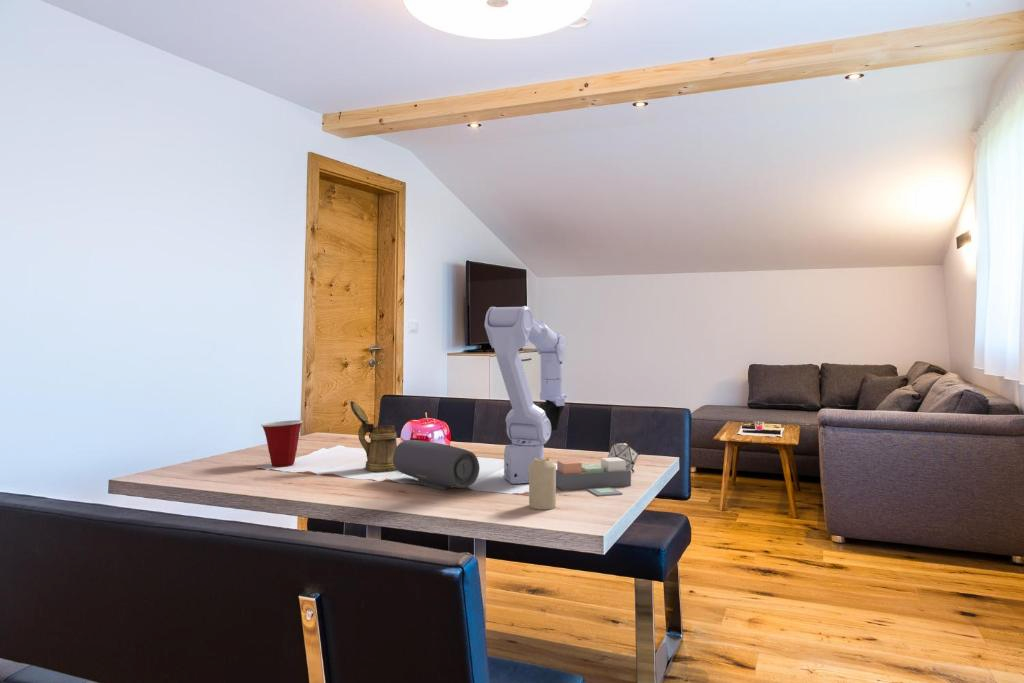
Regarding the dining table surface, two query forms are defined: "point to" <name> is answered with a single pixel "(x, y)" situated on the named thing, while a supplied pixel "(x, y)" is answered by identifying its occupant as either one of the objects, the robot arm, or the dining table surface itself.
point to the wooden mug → (376, 442)
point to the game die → (624, 454)
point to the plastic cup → (282, 441)
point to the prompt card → (604, 491)
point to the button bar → (593, 480)
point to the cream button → (613, 464)
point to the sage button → (592, 468)
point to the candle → (542, 484)
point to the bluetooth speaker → (436, 464)
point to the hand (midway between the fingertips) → (552, 430)
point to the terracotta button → (569, 467)
